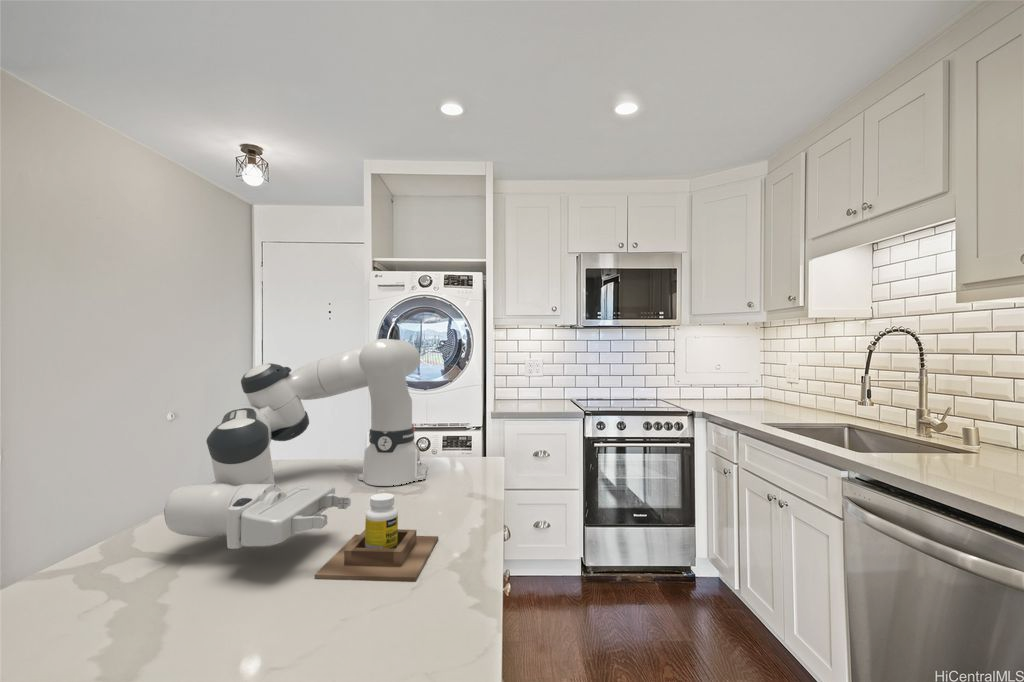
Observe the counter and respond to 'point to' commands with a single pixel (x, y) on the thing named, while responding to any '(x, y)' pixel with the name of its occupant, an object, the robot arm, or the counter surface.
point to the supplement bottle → (381, 522)
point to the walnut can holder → (380, 559)
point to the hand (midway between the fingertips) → (338, 511)
